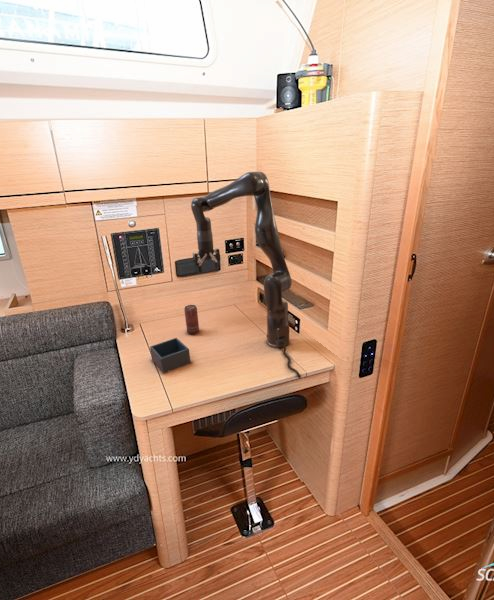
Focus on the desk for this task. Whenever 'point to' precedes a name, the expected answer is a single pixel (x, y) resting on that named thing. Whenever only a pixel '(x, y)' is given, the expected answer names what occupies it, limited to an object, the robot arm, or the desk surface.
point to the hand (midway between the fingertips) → (207, 271)
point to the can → (191, 319)
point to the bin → (170, 355)
